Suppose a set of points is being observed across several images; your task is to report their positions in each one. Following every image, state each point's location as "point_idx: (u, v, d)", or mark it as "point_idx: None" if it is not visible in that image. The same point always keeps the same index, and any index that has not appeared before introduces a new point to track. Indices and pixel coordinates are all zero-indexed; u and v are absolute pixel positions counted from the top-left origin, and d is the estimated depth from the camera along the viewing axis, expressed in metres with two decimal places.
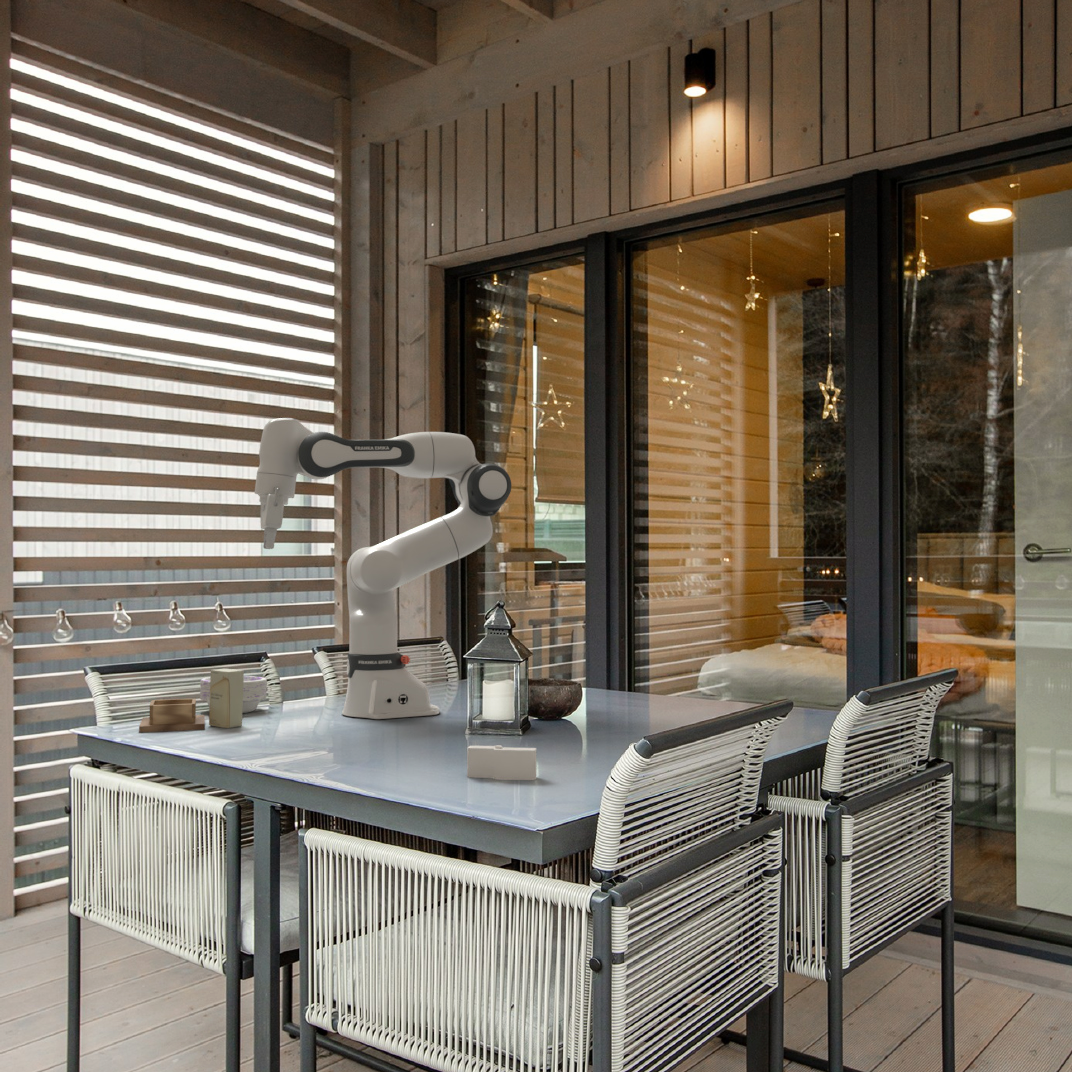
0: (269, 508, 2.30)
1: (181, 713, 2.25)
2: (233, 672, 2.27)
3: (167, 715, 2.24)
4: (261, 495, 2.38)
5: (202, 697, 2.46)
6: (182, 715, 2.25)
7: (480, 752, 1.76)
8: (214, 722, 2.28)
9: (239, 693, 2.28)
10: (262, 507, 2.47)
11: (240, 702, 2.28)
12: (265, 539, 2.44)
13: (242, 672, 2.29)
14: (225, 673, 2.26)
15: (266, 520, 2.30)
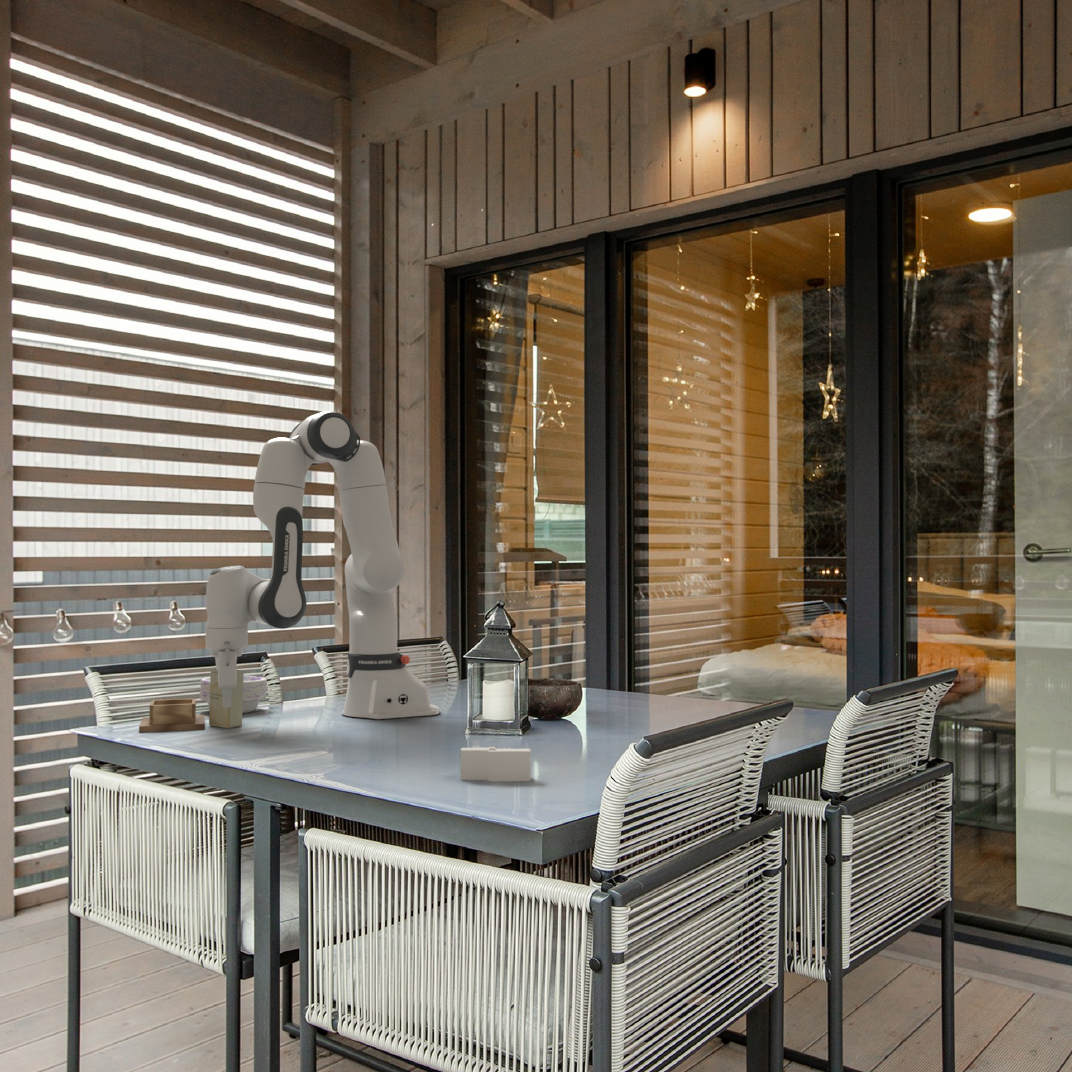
0: (221, 669, 2.19)
1: (181, 713, 2.25)
2: None
3: (167, 715, 2.24)
4: (212, 650, 2.27)
5: (202, 697, 2.46)
6: (182, 715, 2.25)
7: (473, 754, 1.74)
8: (214, 722, 2.28)
9: (239, 693, 2.28)
10: (216, 657, 2.36)
11: (240, 702, 2.28)
12: None
13: (242, 672, 2.29)
14: None
15: (219, 682, 2.19)
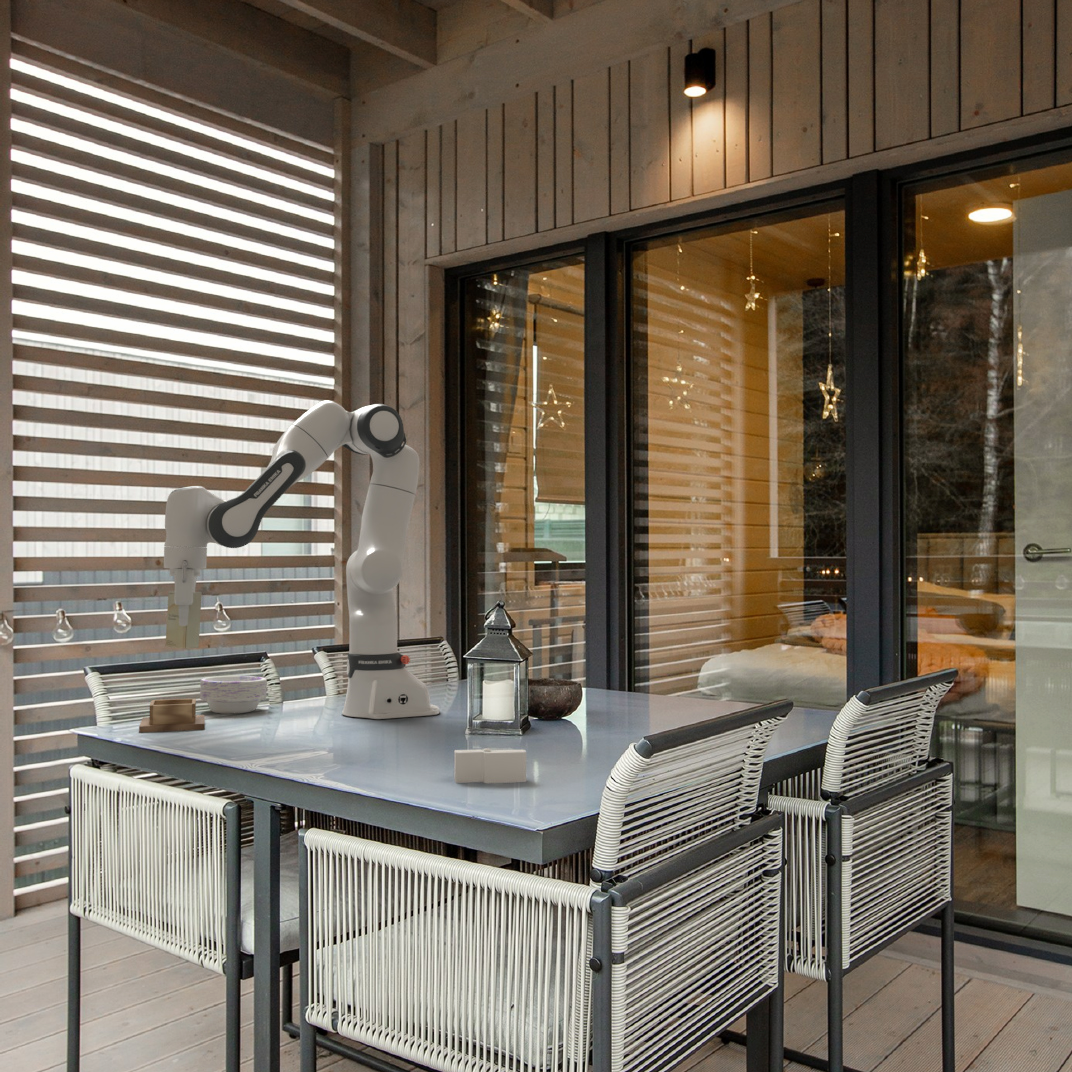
0: (177, 585, 2.19)
1: (181, 713, 2.25)
2: None
3: (167, 715, 2.24)
4: (170, 569, 2.27)
5: (202, 697, 2.46)
6: (182, 715, 2.25)
7: (469, 756, 1.72)
8: (170, 643, 2.27)
9: (196, 615, 2.28)
10: None
11: (197, 624, 2.28)
12: None
13: (200, 594, 2.29)
14: None
15: (175, 598, 2.19)
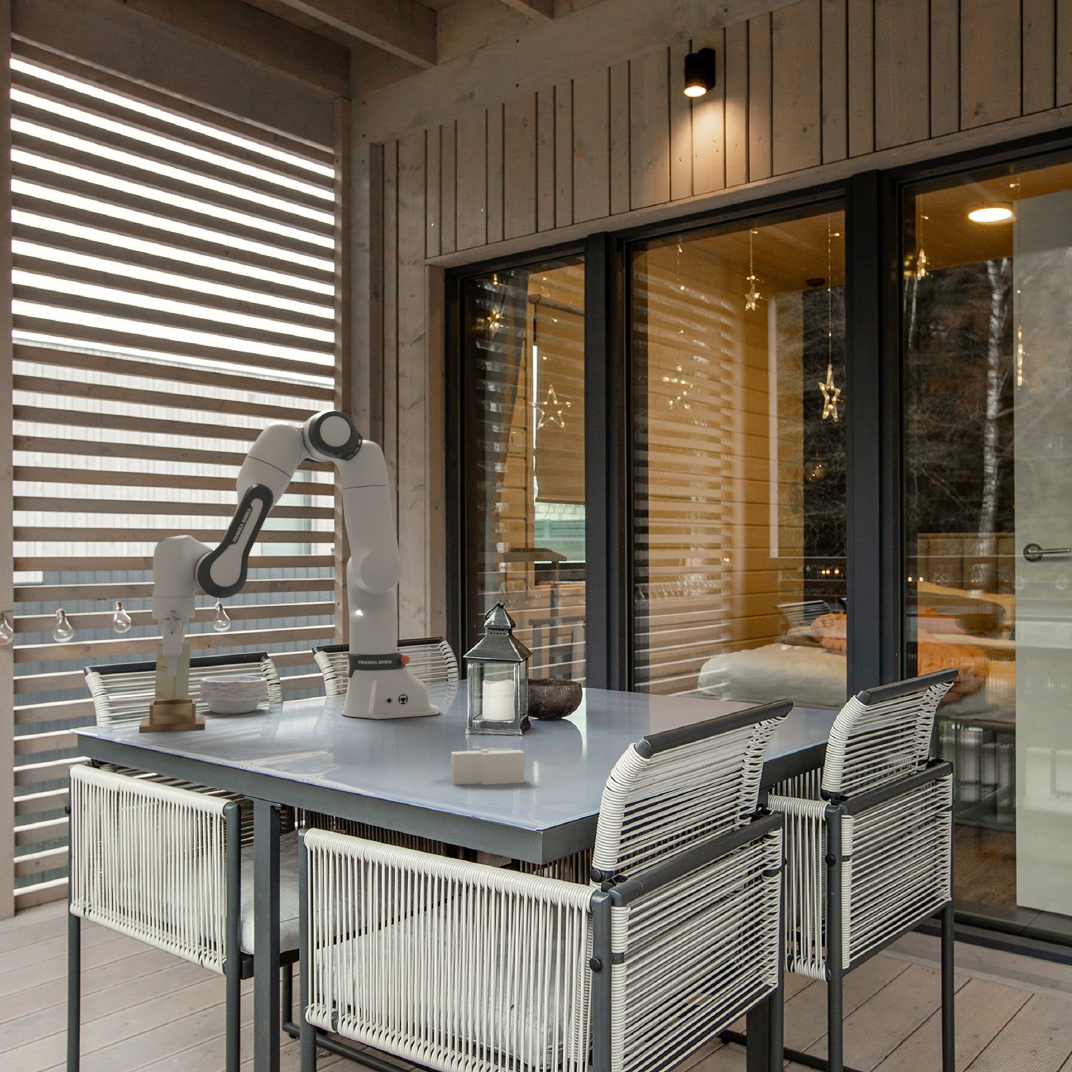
0: (165, 637, 2.19)
1: (181, 713, 2.25)
2: None
3: (167, 715, 2.24)
4: (159, 619, 2.27)
5: (202, 697, 2.46)
6: (182, 715, 2.25)
7: (466, 758, 1.71)
8: (160, 694, 2.27)
9: (185, 666, 2.28)
10: None
11: (186, 674, 2.28)
12: None
13: (189, 644, 2.28)
14: None
15: (163, 650, 2.19)
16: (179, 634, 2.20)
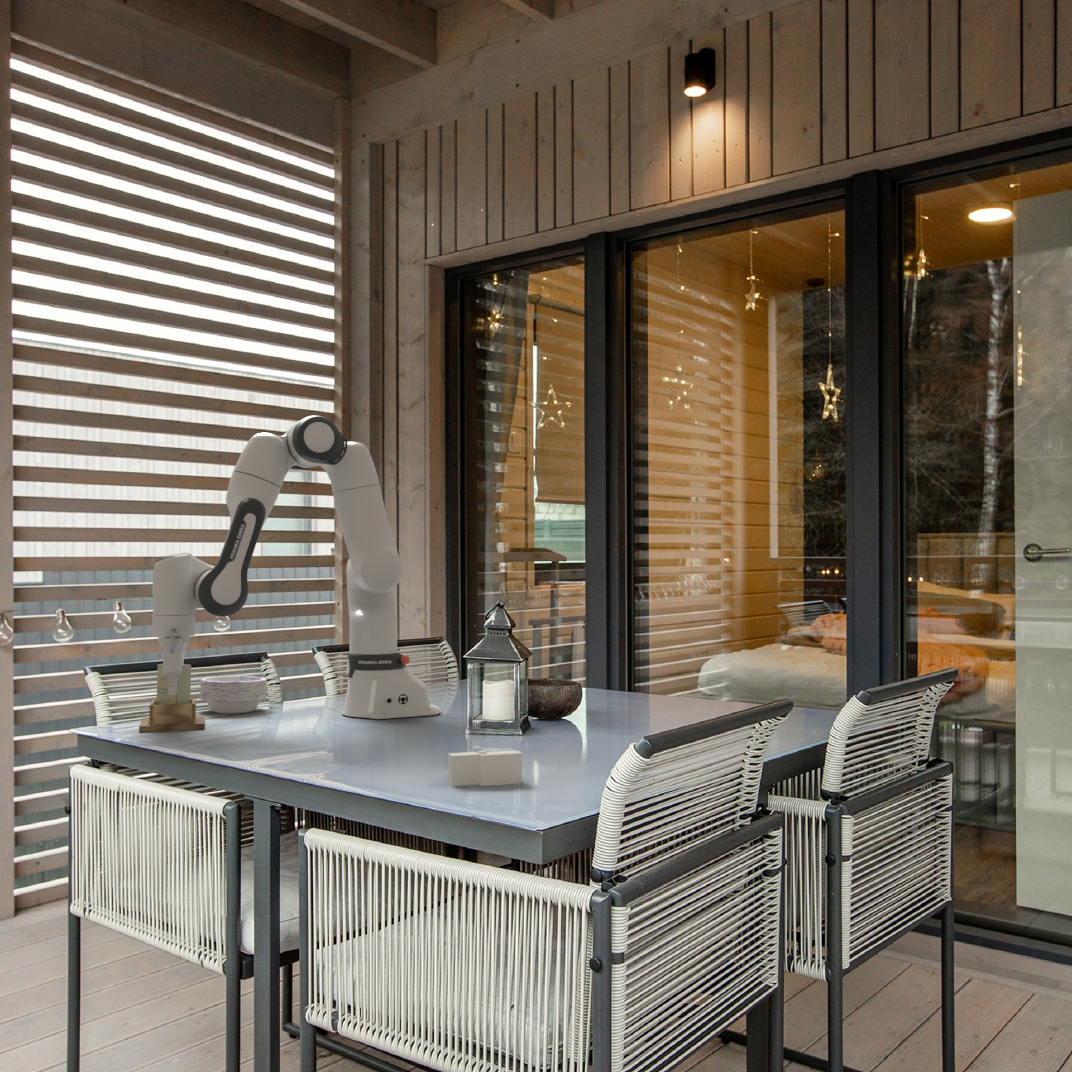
0: (166, 656, 2.19)
1: (181, 713, 2.25)
2: None
3: (167, 715, 2.24)
4: (159, 638, 2.27)
5: (202, 697, 2.46)
6: (182, 715, 2.25)
7: (465, 759, 1.70)
8: None
9: (186, 688, 2.28)
10: None
11: (187, 696, 2.28)
12: None
13: (189, 666, 2.29)
14: None
15: (164, 669, 2.19)
16: (179, 653, 2.20)
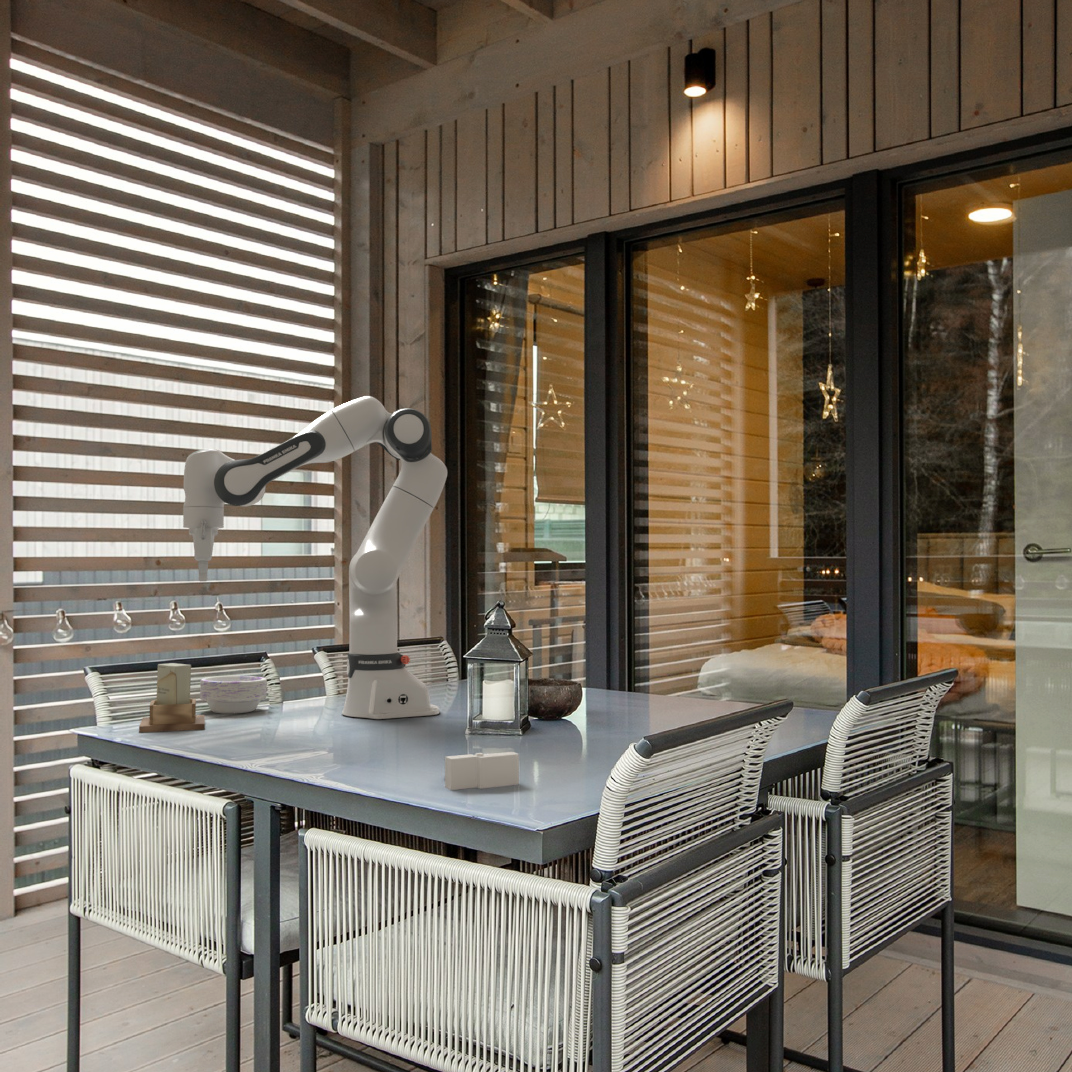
0: (197, 542, 2.32)
1: (181, 713, 2.25)
2: (180, 666, 2.27)
3: (167, 715, 2.24)
4: (190, 529, 2.40)
5: (202, 697, 2.46)
6: (182, 715, 2.25)
7: (463, 762, 1.67)
8: None
9: (186, 688, 2.28)
10: (194, 539, 2.48)
11: (187, 696, 2.28)
12: None
13: (189, 666, 2.29)
14: (172, 667, 2.26)
15: (195, 554, 2.32)
16: (210, 540, 2.33)
